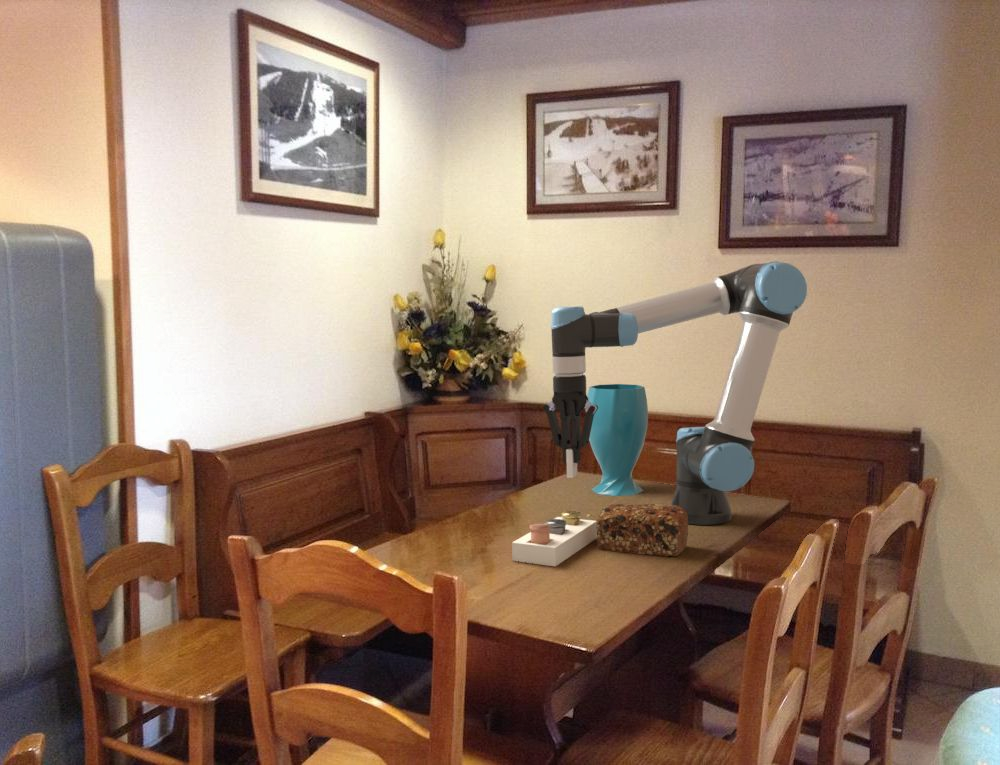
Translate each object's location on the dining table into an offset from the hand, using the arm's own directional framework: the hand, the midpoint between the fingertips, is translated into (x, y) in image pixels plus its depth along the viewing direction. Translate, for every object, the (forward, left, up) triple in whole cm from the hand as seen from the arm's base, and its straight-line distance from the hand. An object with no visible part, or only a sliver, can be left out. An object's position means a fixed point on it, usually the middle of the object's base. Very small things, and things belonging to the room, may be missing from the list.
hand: (572, 476), depth 203 cm
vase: (+8, -53, -15) cm, 56 cm away
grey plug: (0, +9, -14) cm, 17 cm away
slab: (0, +9, -15) cm, 17 cm away
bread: (-17, 0, -15) cm, 23 cm away
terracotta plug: (0, +17, -13) cm, 22 cm away
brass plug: (0, 0, -14) cm, 14 cm away
